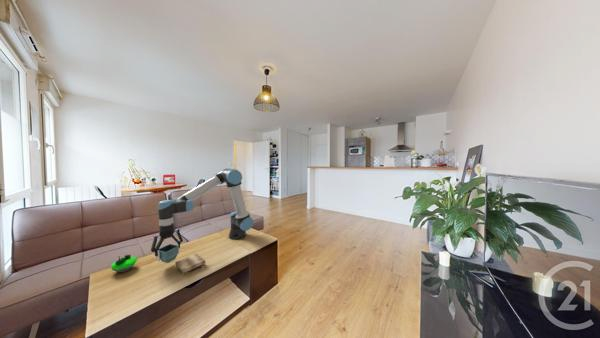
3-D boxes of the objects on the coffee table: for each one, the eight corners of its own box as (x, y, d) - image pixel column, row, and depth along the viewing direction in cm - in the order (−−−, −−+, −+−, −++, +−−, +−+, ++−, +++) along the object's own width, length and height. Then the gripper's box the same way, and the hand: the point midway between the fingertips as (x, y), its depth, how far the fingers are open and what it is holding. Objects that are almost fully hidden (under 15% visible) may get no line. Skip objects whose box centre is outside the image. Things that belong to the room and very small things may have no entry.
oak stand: (196, 259, 128) (196, 253, 128) (205, 266, 120) (205, 260, 120) (175, 268, 118) (175, 262, 117) (183, 276, 110) (183, 269, 110)
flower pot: (157, 263, 117) (156, 249, 116) (170, 256, 125) (170, 243, 124) (166, 266, 114) (165, 252, 113) (179, 258, 122) (179, 245, 121)
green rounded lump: (128, 275, 110) (127, 258, 110) (105, 276, 108) (105, 259, 108) (141, 263, 122) (141, 248, 121) (122, 264, 120) (121, 249, 119)
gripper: (183, 218, 129) (185, 248, 130) (142, 228, 111) (144, 262, 113) (187, 220, 124) (189, 251, 126) (145, 231, 106) (148, 267, 108)
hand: (168, 256), depth 119 cm, fingers closed on flower pot, 10 cm apart
